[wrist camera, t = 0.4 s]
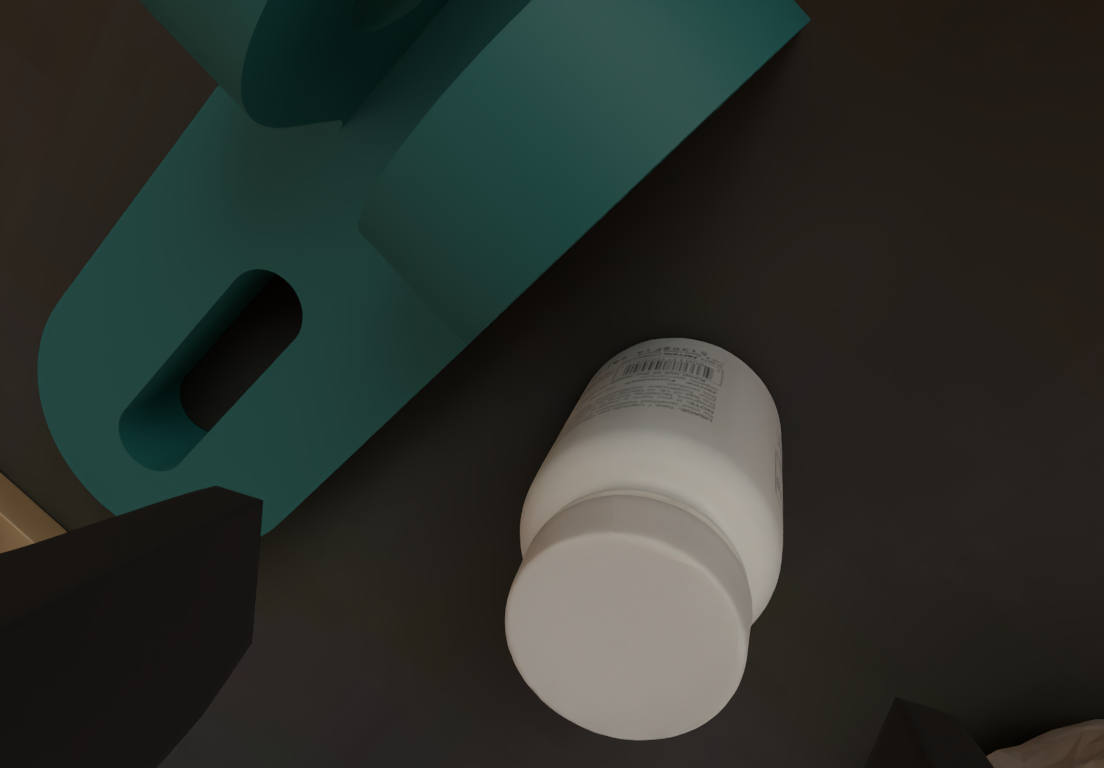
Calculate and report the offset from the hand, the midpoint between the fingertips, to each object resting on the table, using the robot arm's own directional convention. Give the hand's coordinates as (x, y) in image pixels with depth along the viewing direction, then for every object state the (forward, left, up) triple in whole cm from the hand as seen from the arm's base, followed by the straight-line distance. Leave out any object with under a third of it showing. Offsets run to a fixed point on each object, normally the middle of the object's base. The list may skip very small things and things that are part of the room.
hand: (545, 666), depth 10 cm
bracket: (+2, +7, -10) cm, 12 cm away
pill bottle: (-1, -1, -10) cm, 10 cm away
